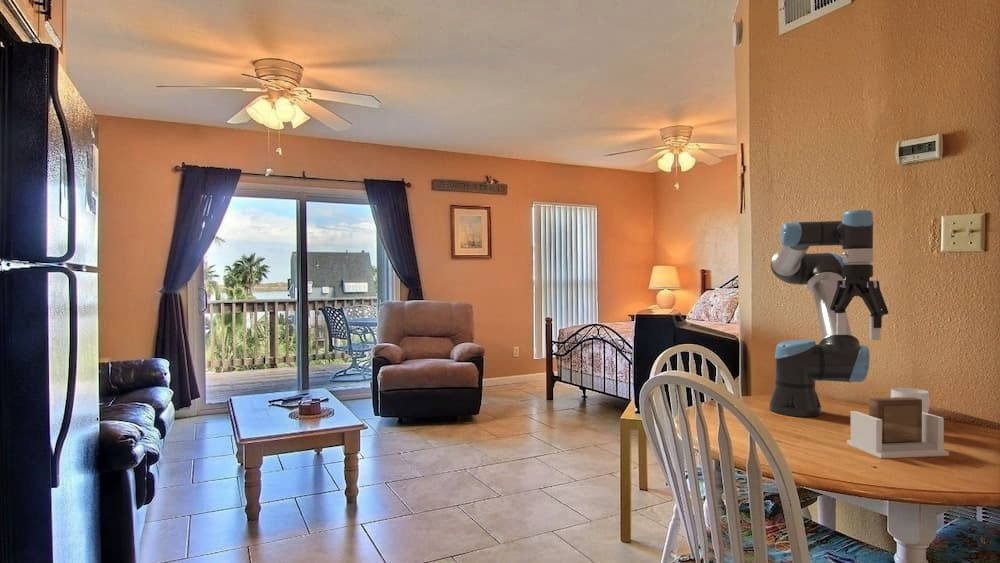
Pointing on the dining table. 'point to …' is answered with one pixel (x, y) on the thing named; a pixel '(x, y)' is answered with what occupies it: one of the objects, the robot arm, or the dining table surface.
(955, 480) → the dining table surface
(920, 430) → the door panel
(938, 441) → the track frame
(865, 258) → the robot arm
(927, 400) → the cup
